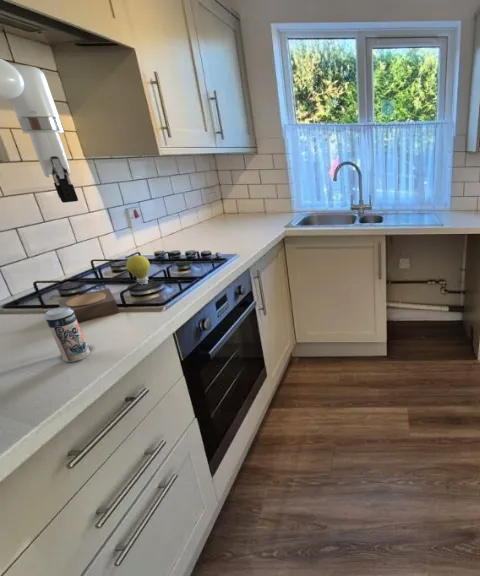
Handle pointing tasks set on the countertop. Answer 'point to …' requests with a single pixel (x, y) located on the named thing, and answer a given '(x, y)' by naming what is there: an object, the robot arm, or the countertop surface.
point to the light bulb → (138, 268)
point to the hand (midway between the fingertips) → (68, 199)
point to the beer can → (67, 334)
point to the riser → (91, 305)
